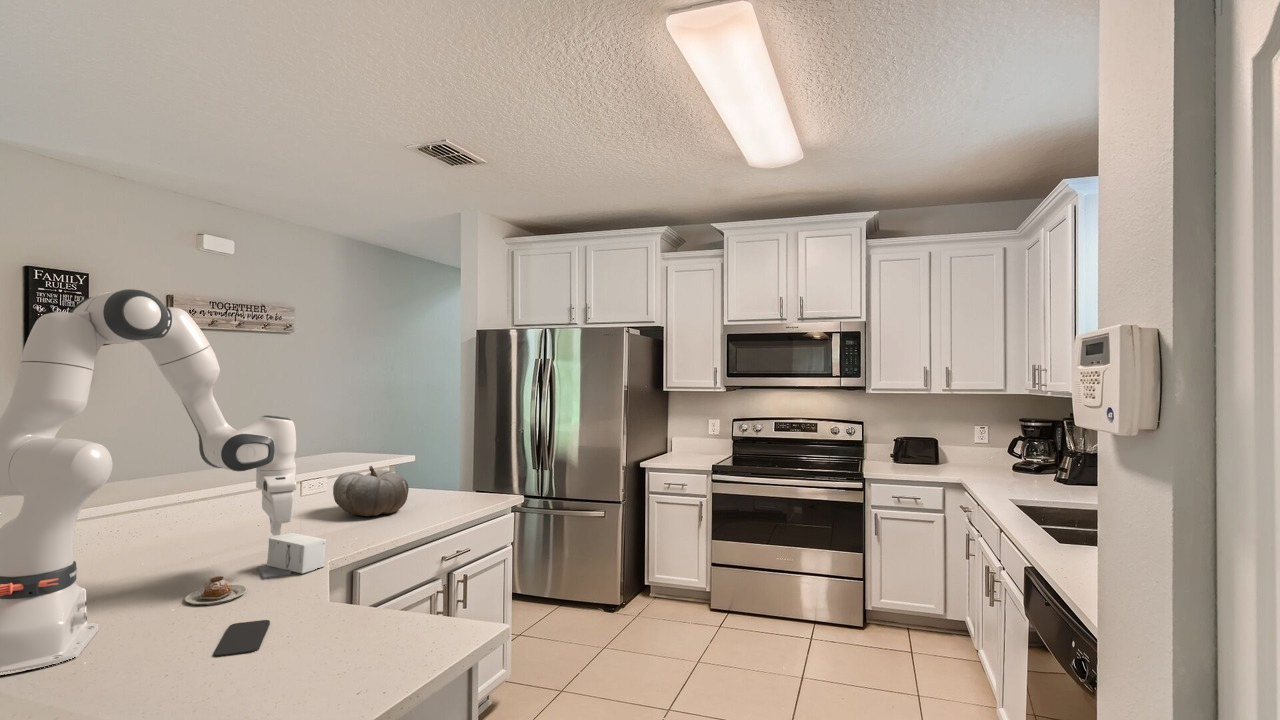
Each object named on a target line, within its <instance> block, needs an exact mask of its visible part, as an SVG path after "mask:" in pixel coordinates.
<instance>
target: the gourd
mask: <svg viewBox="0 0 1280 720" xmlns="http://www.w3.org/2000/svg"><path fill="white" fill-rule="evenodd" d="M368 468H369V470H368V471H369V472H368V473H367V474H362V473H360V472H357V471H346V472H343V473H340V475H339V476H338V477H337V479H336V480H335V481H334V484H333V486H332V492H333V493H332V494H333V495H332V496H333V499H334V503H336V504H337V506H338V507H339V508H340V509H342V510H343V511H344V512H346V513H348V514H351V515H354V516H362V517H363V516H364V517H371V516H375V517H376V516H379V515H381V514H383V515H388V514H392V513H395V512H397V511H399V510H400V509H402V508H403V506H404V505H405V504H406V502H407V500H408V496H409V495H408V494H409V484H408V481H407V480H406V479H405V478H404V477H403V476H400V475H398V474H397V473H396V472H392V471H390V470H388V469H378V470H375V469H374V467H373V465H370V466H368Z"/></svg>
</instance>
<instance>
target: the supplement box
mask: <svg viewBox="0 0 1280 720" xmlns="http://www.w3.org/2000/svg"><path fill="white" fill-rule="evenodd" d="M267 550H268V552H267V560H266V561H267V562H266V565H267V566H271V567H276V568H280V569H285V570H289V571H290V572H293V573H298V574H305V573H309V572H312V571H315V569H316V570H318V569H317V568H320V567H322V566H324V565H326V552H327V551H326V550H327V539H326V538H320V537H316V536H311V535H305V534H301V533H294V532H290V533H289V532H288V533H285V534H280V535H275V536H272V537H269V538H268V549H267ZM324 567H325V566H324ZM320 569H321V568H320Z"/></svg>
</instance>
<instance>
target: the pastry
mask: <svg viewBox="0 0 1280 720" xmlns="http://www.w3.org/2000/svg"><path fill="white" fill-rule="evenodd" d="M247 590H248V588H247V587H246V586H244V585H241V584H231V583H230V582H229V581H228V580H226V579H224V576H214V577H211V578H210V579H209V581H208V582H207V583H206V584H205V585H204V587H203V588H201V589H197V590H196V591H192V592H191V593H188V594H187V595H186V596H185V598H184V601H185V603H187V604H189V605H192V606H214V605H219V604H225V603H230V602H231V601H232V600H233V599H235V598H238V597H240V596H242V595H244V594H245V593H247ZM232 593H234V594H235V595H234V596H232V597H231V596H230V597H229V598H227V597H228V596H229V595H231V594H232ZM198 598H199V599H201V600H203V601H207V602H201V601H197V599H198ZM224 598H226V599H224ZM208 601H210V602H208Z"/></svg>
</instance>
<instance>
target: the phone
mask: <svg viewBox="0 0 1280 720" xmlns="http://www.w3.org/2000/svg"><path fill="white" fill-rule="evenodd" d="M270 624H271V621H270V619H269V620H268V619H263V620H262V619H261V620H251V621H245V622H244V621H243V622H237V623H236V622H235V623H231V624H229V626H228V627H227V629H226V631H225V632H224V634H223V637H222V638H221V640H220V642H219V644H218V645H217V647H216V649H215V651H214V652H213V657H215V658H220V657H222V656H223V657H230V656H237V655H244V654H245V655H246V654H252V652H253V653H255V651H256V652H258V651H259V650H260V648H261V647H262V644H263V641H264V639H265V636H266V634H267V632H268V630H269V627H270Z"/></svg>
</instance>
